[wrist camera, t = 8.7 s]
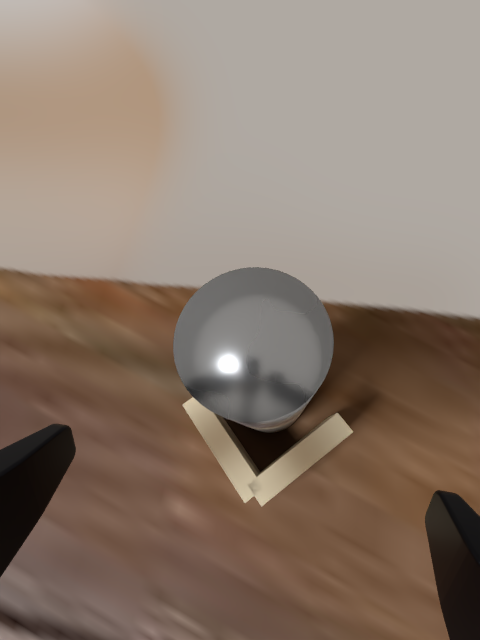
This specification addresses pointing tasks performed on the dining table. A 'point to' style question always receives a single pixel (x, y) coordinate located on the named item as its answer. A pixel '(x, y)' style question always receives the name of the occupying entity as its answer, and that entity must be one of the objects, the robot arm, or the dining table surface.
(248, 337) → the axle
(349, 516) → the dining table surface
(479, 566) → the robot arm
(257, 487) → the v block
